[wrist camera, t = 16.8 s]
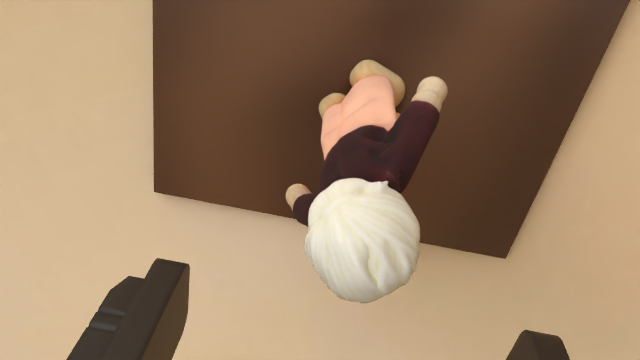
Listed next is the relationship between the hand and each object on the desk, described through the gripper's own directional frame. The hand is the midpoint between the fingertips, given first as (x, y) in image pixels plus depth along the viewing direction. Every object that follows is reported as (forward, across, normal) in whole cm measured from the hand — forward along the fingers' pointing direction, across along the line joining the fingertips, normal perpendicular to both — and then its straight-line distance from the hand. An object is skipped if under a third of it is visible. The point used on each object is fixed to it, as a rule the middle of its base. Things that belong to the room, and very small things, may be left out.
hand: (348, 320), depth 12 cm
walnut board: (+15, 0, 0) cm, 15 cm away
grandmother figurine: (+14, 0, 0) cm, 14 cm away
